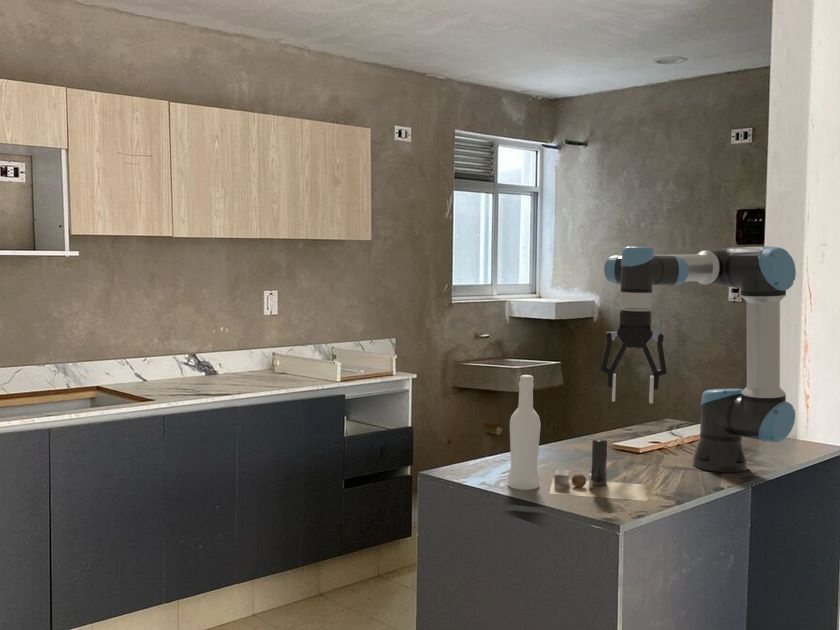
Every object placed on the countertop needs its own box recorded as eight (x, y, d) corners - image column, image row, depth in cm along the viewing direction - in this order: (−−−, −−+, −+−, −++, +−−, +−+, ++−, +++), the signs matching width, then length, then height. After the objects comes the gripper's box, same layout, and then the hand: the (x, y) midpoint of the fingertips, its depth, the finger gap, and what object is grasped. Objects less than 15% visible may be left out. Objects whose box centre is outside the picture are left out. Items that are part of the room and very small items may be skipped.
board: (644, 488, 225) (645, 470, 225) (647, 505, 210) (648, 486, 209) (552, 482, 230) (553, 464, 230) (549, 498, 215) (549, 479, 214)
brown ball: (585, 486, 222) (586, 472, 222) (585, 489, 219) (586, 475, 218) (571, 485, 223) (572, 471, 223) (571, 488, 219) (571, 474, 219)
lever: (605, 481, 226) (606, 431, 225) (605, 496, 211) (607, 442, 210) (589, 480, 227) (591, 430, 226) (588, 495, 212) (590, 441, 211)
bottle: (505, 485, 226) (508, 373, 224) (535, 485, 226) (538, 373, 224) (510, 494, 217) (514, 377, 216) (542, 494, 218) (545, 377, 216)
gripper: (679, 310, 210) (675, 401, 212) (591, 307, 215) (588, 397, 216) (681, 312, 203) (678, 406, 205) (591, 309, 207) (588, 401, 209)
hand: (632, 401), depth 210 cm, fingers open, 8 cm apart
